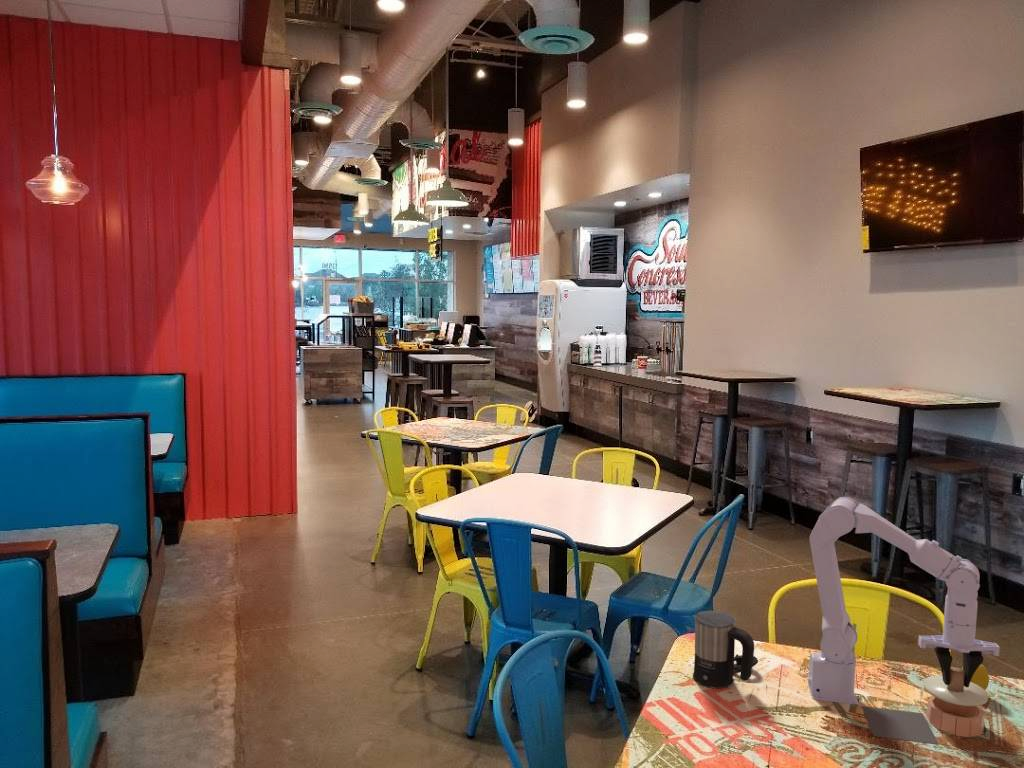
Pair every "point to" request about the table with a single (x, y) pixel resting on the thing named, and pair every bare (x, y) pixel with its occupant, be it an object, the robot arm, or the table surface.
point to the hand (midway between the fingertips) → (955, 683)
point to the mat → (899, 725)
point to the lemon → (981, 677)
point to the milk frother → (720, 650)
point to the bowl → (955, 717)
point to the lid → (956, 689)
